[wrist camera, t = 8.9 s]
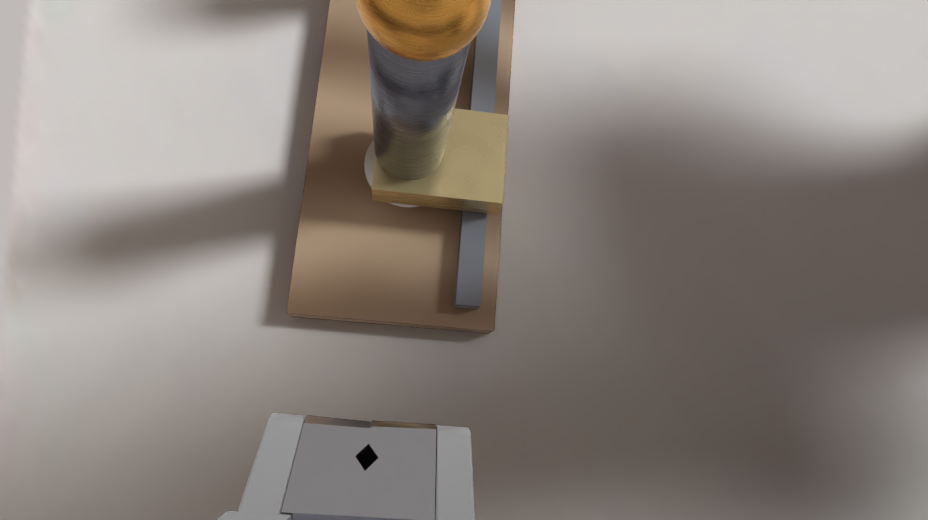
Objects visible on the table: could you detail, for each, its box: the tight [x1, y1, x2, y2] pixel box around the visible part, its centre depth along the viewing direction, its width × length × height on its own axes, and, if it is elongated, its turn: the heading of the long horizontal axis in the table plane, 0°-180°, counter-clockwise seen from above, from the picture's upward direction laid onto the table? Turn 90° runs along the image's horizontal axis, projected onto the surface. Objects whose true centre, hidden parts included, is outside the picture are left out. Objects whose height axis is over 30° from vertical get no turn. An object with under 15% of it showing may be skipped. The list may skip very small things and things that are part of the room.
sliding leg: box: [355, 0, 508, 214], centre depth 22 cm, size 4×6×16 cm
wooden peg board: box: [287, 0, 515, 333], centre depth 26 cm, size 26×10×13 cm, turn 176°
